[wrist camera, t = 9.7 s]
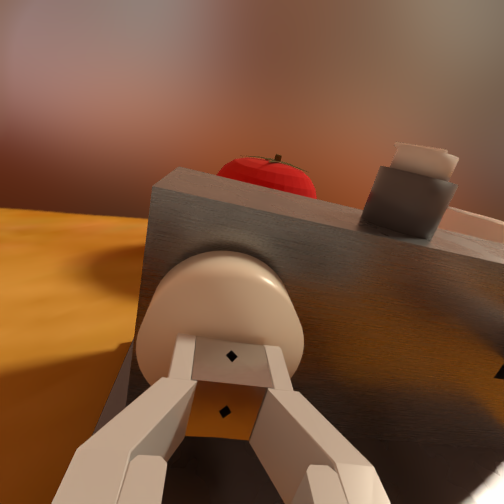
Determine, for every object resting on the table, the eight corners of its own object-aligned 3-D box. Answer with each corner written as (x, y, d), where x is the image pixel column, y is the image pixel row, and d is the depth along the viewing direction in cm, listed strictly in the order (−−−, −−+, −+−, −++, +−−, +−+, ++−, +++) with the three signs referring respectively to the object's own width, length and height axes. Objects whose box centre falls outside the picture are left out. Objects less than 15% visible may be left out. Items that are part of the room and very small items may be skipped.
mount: (605, 552, 13) (835, 363, 9) (46, 556, 9) (42, 210, 5) (445, 378, 22) (526, 249, 18) (136, 340, 18) (158, 161, 14)
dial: (443, 239, 13) (483, 160, 12) (412, 239, 11) (456, 145, 10) (382, 217, 16) (411, 149, 14) (347, 213, 14) (377, 134, 12)
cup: (489, 391, 22) (590, 249, 18) (372, 332, 26) (432, 205, 22) (474, 340, 30) (542, 232, 25) (385, 300, 33) (432, 201, 29)
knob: (278, 417, 10) (326, 294, 8) (128, 405, 9) (146, 263, 7) (251, 286, 18) (272, 213, 17) (173, 273, 18) (186, 194, 16)
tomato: (305, 306, 27) (352, 175, 23) (184, 281, 26) (210, 138, 22) (287, 257, 39) (316, 163, 35) (202, 239, 38) (221, 139, 33)
